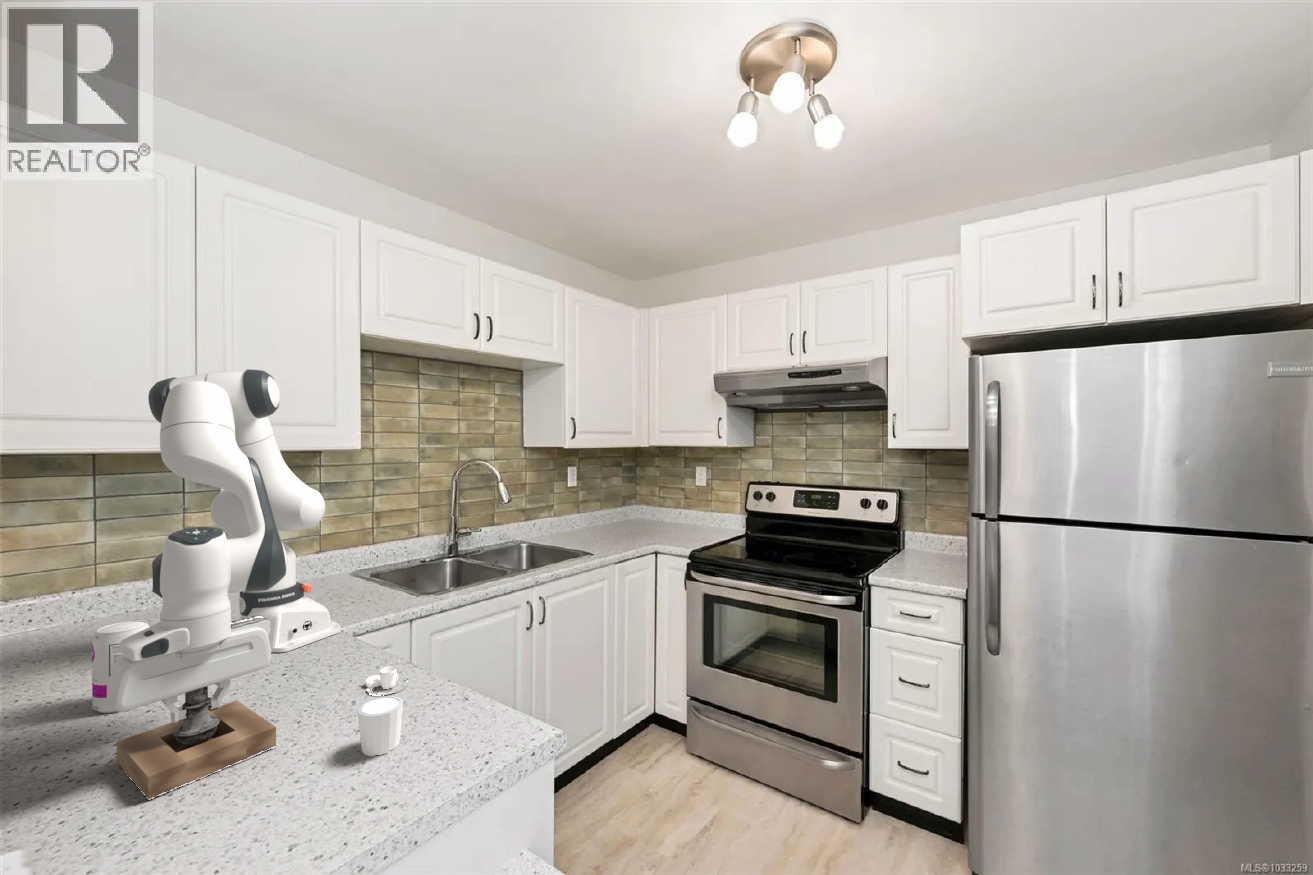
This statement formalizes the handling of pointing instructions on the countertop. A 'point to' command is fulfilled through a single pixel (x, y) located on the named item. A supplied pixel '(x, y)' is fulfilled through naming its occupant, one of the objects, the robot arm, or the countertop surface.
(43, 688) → the countertop surface
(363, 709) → the white cylinder
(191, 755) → the holder
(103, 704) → the supplement can
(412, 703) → the countertop surface
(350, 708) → the countertop surface
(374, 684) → the teacup and saucer
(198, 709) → the grey tall rounded piece
